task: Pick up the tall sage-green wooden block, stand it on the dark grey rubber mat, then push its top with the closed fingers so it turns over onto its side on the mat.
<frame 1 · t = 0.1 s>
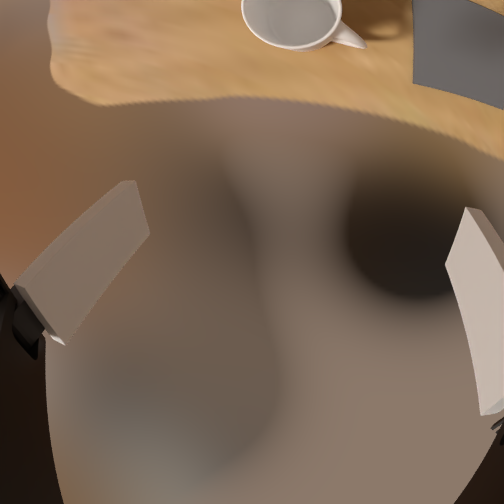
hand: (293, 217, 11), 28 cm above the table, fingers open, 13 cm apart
mat: (463, 45, 21), on the table
mug: (315, 26, 26), on the table
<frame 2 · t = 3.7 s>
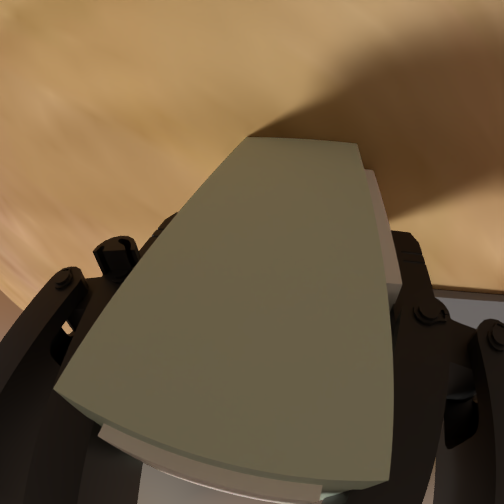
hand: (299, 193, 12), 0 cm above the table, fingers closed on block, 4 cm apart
mat: (456, 359, 17), on the table
block: (300, 188, 12), on the table, touching gripper
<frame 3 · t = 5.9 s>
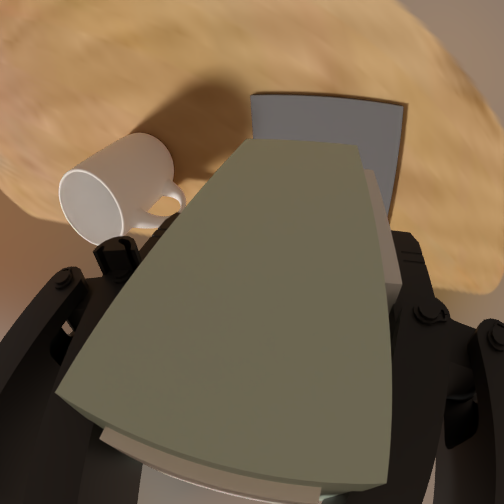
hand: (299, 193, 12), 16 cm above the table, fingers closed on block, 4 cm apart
mat: (325, 165, 27), on the table
block: (300, 190, 12), point 16 cm above the table, touching gripper
mug: (157, 169, 32), on the table
when the fingers open (2 cm above the table, at t = 8.3 s): block stays where it is, resting on mat.
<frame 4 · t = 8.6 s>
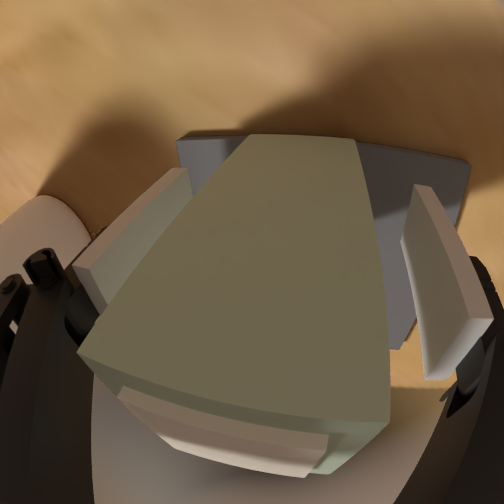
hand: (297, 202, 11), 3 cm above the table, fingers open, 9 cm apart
mat: (317, 261, 16), on the table
block: (301, 182, 13), point 1 cm above the table, touching mat
mug: (77, 242, 21), on the table
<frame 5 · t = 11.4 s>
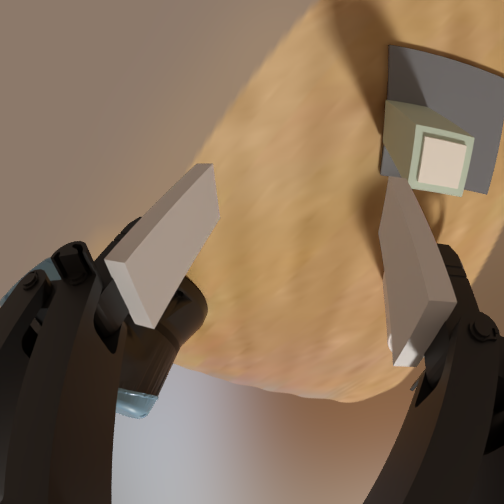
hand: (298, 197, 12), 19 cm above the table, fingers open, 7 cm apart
mat: (447, 122, 22), on the table
block: (405, 124, 24), point 1 cm above the table, touching mat
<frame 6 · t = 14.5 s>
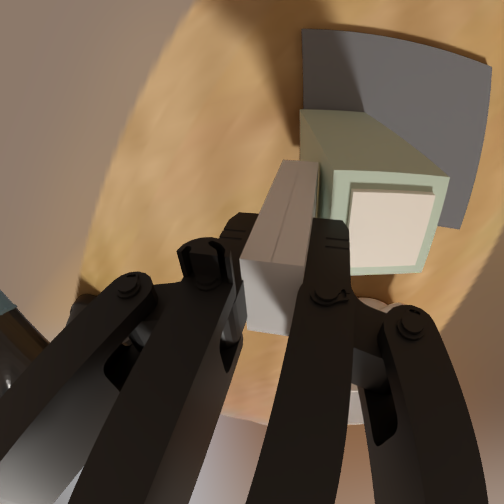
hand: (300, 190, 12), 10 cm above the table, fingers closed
mat: (399, 132, 18), on the table
block: (332, 141, 19), point 1 cm above the table, tilted 11°, touching mat
mug: (368, 311, 29), on the table
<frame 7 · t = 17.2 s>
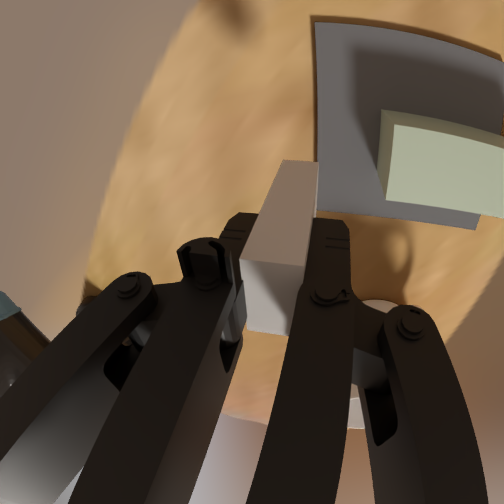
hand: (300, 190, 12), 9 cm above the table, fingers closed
mat: (415, 130, 16), on the table
block: (384, 150, 16), point 3 cm above the table, tilted 90°, touching mat
mug: (381, 313, 28), on the table
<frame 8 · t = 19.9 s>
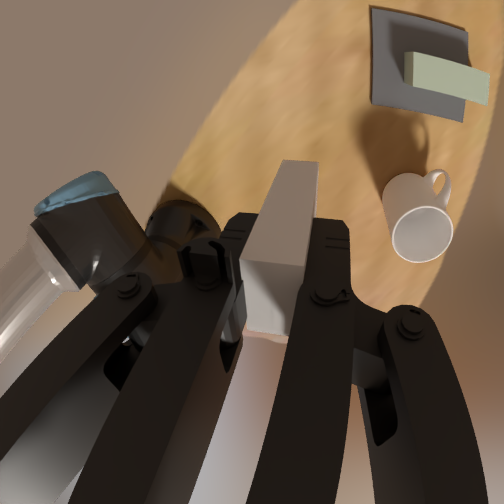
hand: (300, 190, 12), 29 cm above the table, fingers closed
mat: (421, 64, 27), on the table
block: (408, 68, 26), point 3 cm above the table, tilted 90°, touching mat
mug: (413, 187, 39), on the table
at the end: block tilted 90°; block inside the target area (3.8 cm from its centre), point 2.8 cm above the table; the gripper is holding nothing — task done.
